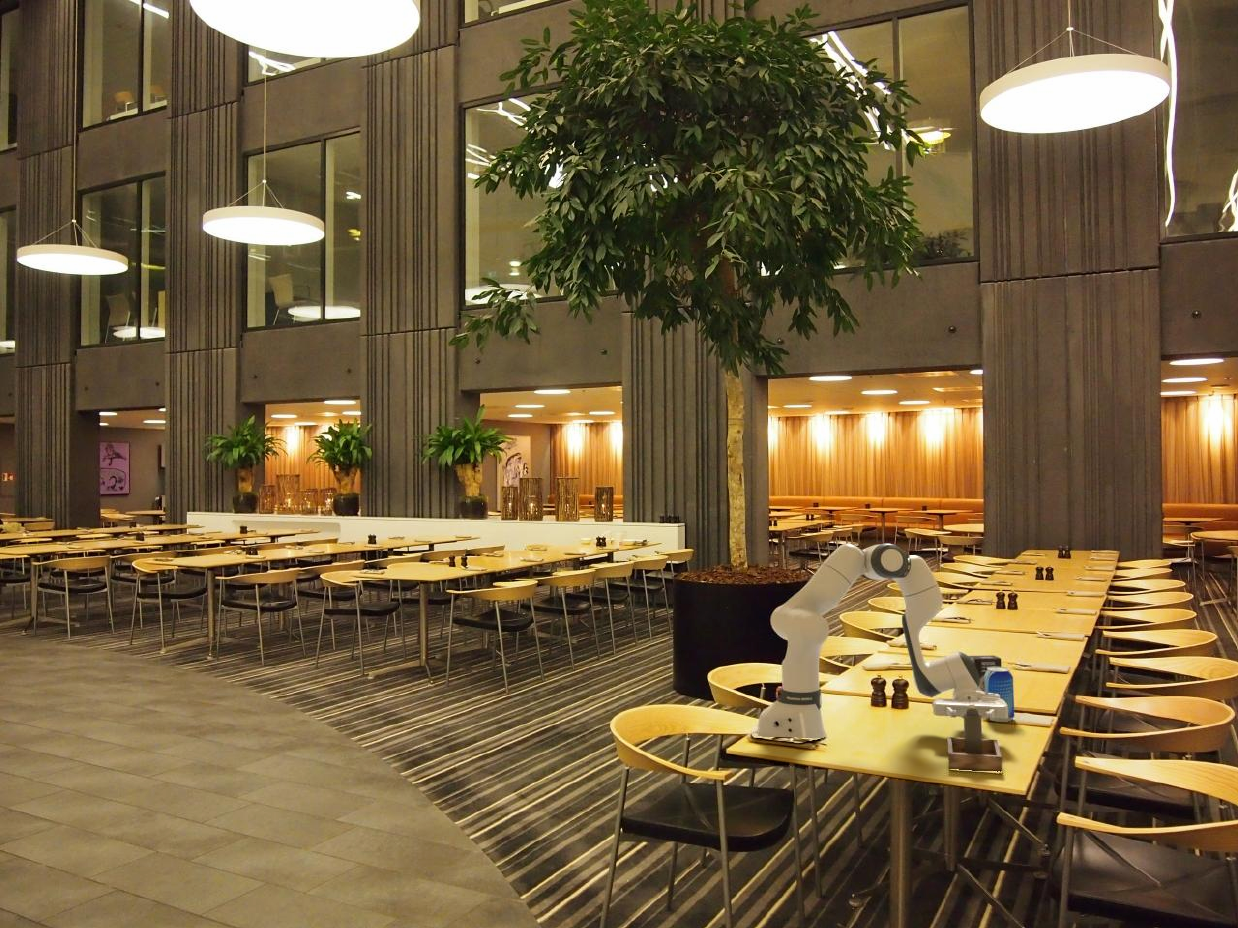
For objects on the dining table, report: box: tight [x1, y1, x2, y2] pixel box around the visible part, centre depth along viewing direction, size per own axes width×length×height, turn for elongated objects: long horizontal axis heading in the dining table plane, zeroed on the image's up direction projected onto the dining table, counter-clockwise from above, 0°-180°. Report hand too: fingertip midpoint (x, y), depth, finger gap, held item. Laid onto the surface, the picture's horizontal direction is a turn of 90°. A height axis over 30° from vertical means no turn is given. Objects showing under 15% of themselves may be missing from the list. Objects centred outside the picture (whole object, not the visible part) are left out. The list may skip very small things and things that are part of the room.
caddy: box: [946, 736, 1003, 772], centre depth 249 cm, size 13×16×4 cm
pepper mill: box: [963, 704, 983, 754], centre depth 249 cm, size 4×4×15 cm
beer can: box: [984, 666, 1015, 723], centre depth 293 cm, size 8×8×16 cm
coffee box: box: [968, 654, 1003, 692], centre depth 312 cm, size 9×6×16 cm
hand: (970, 715), depth 260 cm, fingers open, 8 cm apart
